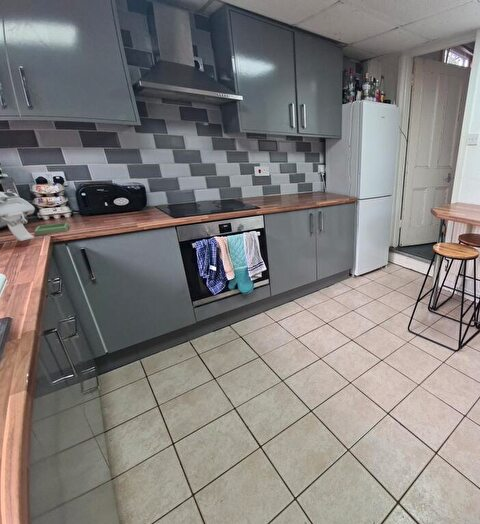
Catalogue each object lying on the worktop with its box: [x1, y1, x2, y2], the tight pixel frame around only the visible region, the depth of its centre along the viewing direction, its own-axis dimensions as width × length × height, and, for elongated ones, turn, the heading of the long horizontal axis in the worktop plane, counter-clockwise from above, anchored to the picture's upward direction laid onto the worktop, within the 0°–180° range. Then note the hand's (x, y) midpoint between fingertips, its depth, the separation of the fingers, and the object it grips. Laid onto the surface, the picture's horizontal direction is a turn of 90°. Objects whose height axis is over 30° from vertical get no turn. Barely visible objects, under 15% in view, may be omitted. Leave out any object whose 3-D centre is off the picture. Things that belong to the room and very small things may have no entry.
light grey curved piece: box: [5, 212, 35, 242], centre depth 130 cm, size 5×6×12 cm
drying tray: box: [33, 221, 70, 236], centre depth 152 cm, size 12×12×2 cm
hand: (20, 224), depth 130 cm, fingers closed on light grey curved piece, 3 cm apart
